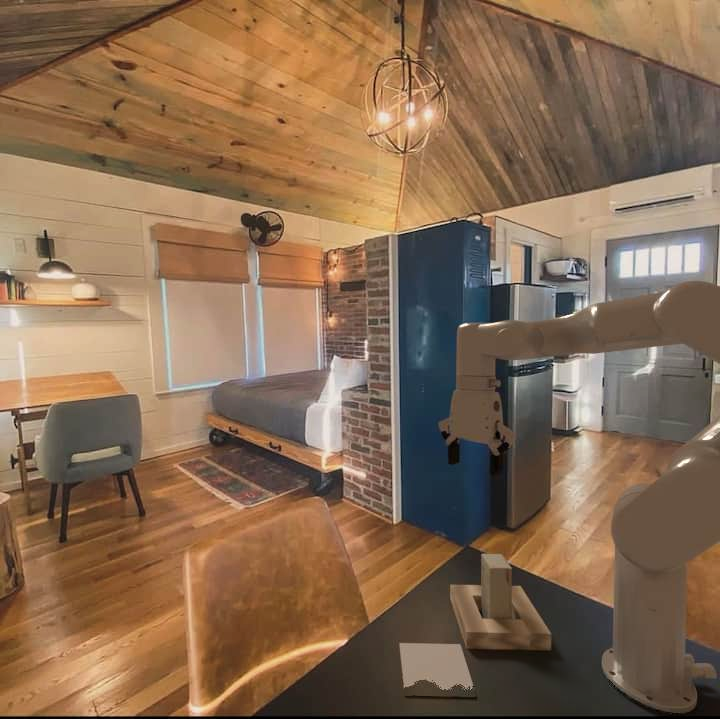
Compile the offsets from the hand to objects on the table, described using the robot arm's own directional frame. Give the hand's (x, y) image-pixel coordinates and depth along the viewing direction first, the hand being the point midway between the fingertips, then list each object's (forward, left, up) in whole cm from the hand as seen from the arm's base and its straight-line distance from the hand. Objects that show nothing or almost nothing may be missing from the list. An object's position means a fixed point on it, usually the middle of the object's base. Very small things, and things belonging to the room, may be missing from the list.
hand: (474, 468), depth 83 cm
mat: (+10, +15, -30) cm, 35 cm away
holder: (-4, +3, -30) cm, 30 cm away
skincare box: (-4, +3, -30) cm, 30 cm away
